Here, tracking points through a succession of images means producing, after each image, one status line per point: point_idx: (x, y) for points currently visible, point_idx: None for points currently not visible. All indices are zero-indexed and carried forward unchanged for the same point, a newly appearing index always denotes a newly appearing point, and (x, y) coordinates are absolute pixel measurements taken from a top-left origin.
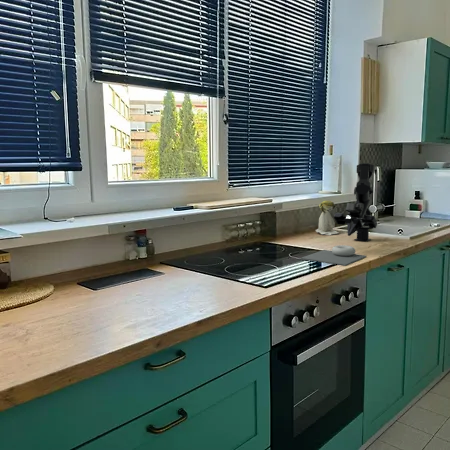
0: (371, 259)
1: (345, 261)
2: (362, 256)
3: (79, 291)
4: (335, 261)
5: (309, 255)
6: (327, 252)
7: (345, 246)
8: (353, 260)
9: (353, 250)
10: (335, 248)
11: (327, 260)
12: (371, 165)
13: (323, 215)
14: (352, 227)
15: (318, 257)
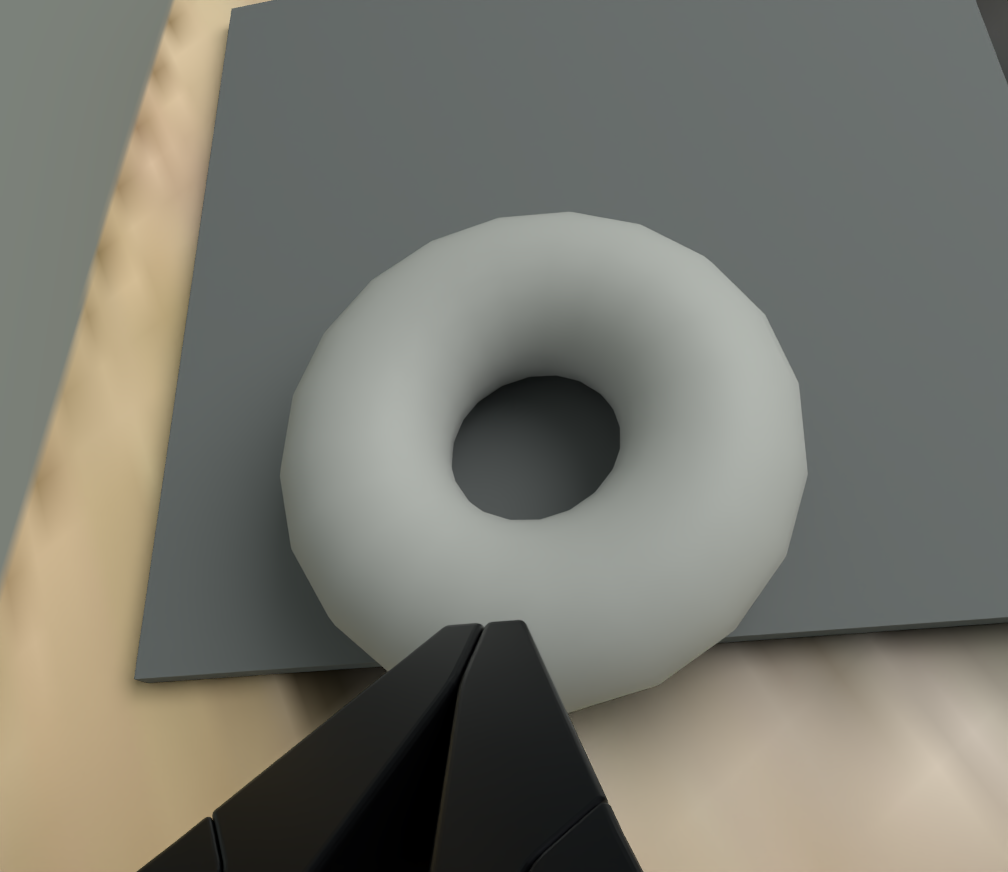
0: (30, 557)
1: (291, 119)
2: (181, 563)
3: None
4: (402, 35)
5: (953, 22)
6: (910, 408)
7: (544, 538)
8: (218, 233)
9: (287, 437)
10: (608, 223)
11: (519, 2)
12: None
13: None
14: (243, 831)
15: (736, 29)
